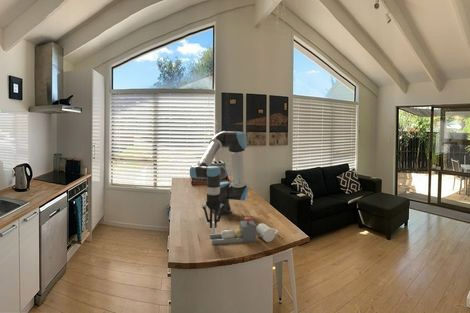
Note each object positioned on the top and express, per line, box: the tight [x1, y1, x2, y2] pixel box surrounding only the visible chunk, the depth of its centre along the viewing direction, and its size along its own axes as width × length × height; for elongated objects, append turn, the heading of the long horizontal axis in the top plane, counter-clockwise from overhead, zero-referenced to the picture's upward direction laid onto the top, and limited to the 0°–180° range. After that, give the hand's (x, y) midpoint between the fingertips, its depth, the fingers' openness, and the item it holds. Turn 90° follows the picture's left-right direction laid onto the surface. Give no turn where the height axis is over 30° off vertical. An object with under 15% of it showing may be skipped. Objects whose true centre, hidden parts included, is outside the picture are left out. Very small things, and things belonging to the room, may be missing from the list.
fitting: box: [220, 229, 235, 239], centre depth 158 cm, size 6×7×6 cm
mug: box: [256, 223, 279, 243], centre depth 164 cm, size 12×10×8 cm
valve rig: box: [209, 216, 258, 245], centre depth 159 cm, size 10×26×13 cm, turn 102°
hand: (213, 233), depth 157 cm, fingers closed
